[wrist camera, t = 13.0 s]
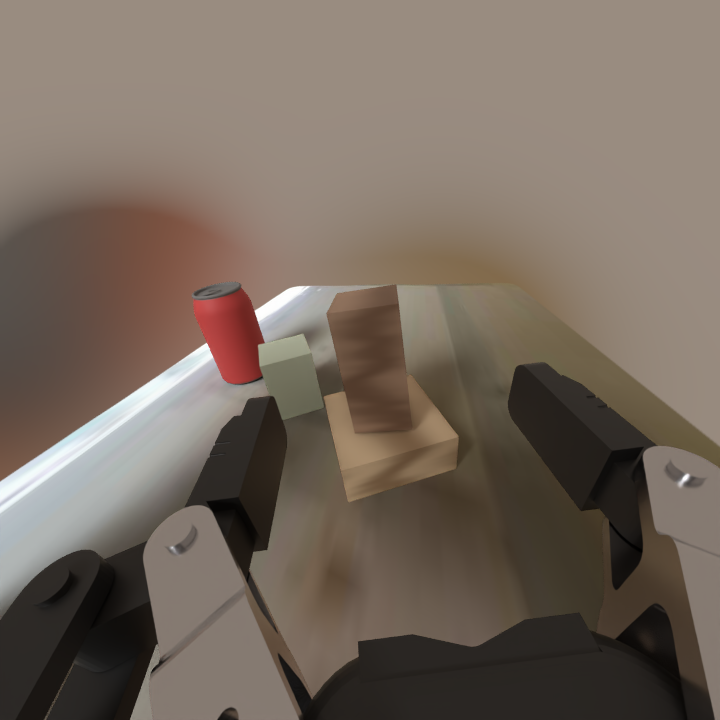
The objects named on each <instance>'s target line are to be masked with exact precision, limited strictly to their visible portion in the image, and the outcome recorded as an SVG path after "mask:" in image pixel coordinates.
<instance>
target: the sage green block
mask: <svg viewBox="0 0 720 720" xmlns="http://www.w3.org/2000/svg"><path fill="white" fill-rule="evenodd" d="M258 350H259V366H260V369H261V372H262V375H263V378H264V381H265V383H266V386H267V389H268V392H269V395H270V396H273V397H274V398H275V400H276V403H277V406H278V408H279V411H280V414H281V417H282V420H286V419H289V418H292V417H295V416H298V415H302V414H305V413H308V412H311V411H315V410H318V409H321V408H324V404H323V400H322V396H321V392H320V387H319V383H318V379H317V375H316V370H315V366H314V362H313V358H312V354H311V351H310V349H309V346H308V344H307V341H306V339H305V336H304V334H300V335H296V336H292V337H288V338H284V339H280V340H276V341H272V342H268V343H264V344H260V345H258Z"/></svg>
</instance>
